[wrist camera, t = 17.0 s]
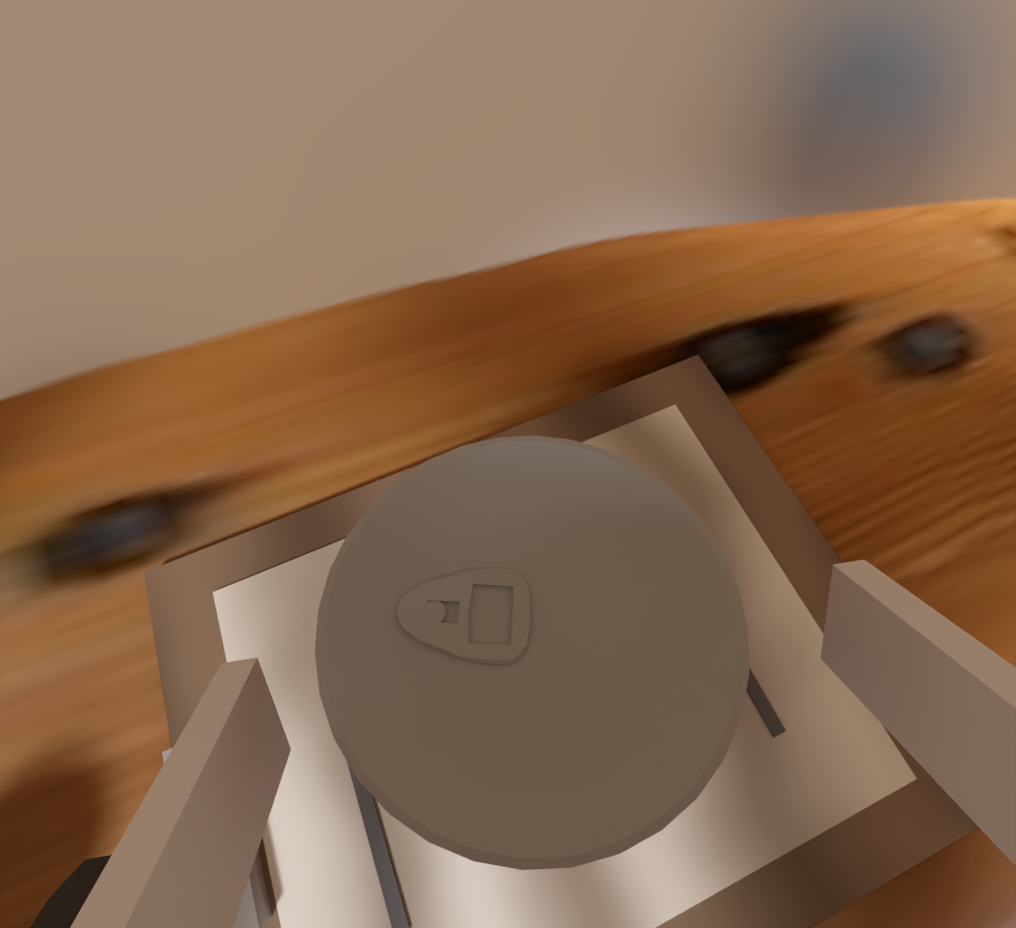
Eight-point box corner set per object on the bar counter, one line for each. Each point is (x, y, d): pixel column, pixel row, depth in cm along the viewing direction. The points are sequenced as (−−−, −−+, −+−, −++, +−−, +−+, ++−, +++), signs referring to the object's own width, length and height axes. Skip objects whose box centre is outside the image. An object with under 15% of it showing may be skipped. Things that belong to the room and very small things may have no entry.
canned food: (403, 578, 21) (295, 474, 11) (597, 534, 21) (668, 396, 11) (436, 799, 18) (328, 943, 8) (660, 741, 18) (833, 804, 8)
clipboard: (261, 1241, 14) (234, 1299, 13) (153, 575, 22) (129, 567, 20) (997, 803, 18) (1037, 812, 17) (694, 361, 26) (704, 343, 24)
